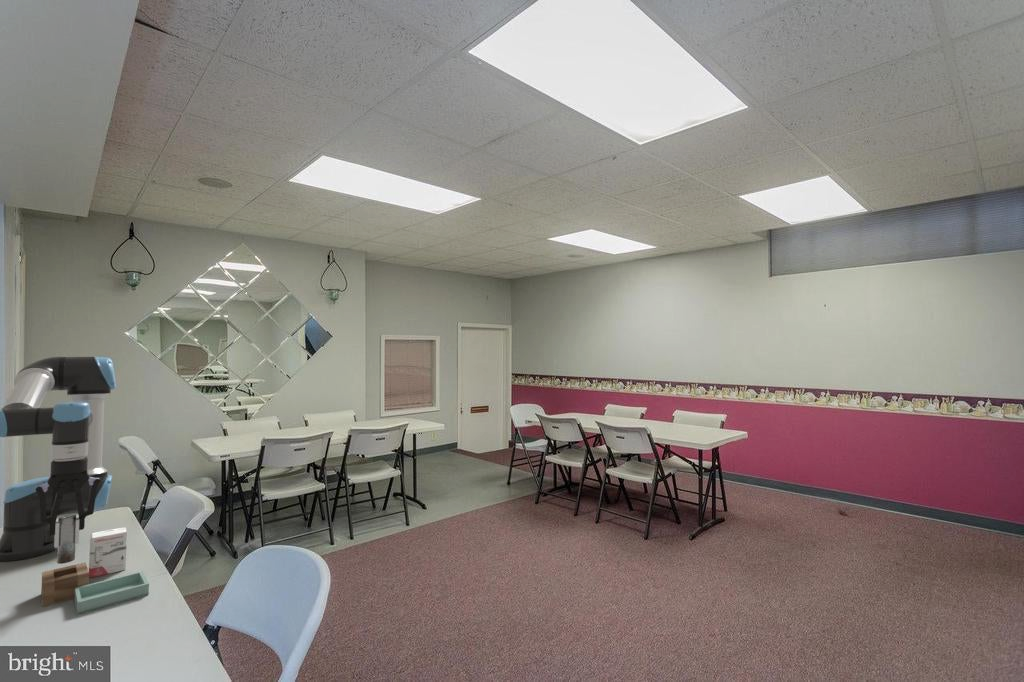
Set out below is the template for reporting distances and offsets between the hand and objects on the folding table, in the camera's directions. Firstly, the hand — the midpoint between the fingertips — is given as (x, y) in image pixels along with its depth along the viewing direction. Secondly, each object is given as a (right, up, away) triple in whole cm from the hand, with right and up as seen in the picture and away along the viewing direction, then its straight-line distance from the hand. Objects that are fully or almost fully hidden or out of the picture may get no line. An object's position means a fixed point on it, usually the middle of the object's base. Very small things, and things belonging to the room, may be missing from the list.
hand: (66, 544), depth 132 cm
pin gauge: (0, -5, 0) cm, 5 cm away
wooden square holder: (0, -14, 0) cm, 14 cm away
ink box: (0, -14, +14) cm, 20 cm away
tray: (+14, -14, -1) cm, 19 cm away
